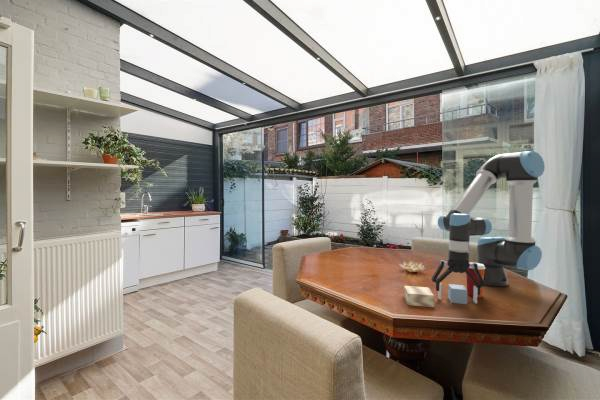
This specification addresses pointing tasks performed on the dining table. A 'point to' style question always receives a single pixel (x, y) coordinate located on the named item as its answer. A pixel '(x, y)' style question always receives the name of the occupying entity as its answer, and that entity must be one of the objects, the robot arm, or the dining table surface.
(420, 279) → the dining table surface
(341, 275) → the dining table surface
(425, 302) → the maple block
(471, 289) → the paper cup
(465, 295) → the slate cube
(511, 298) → the dining table surface
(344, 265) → the dining table surface
